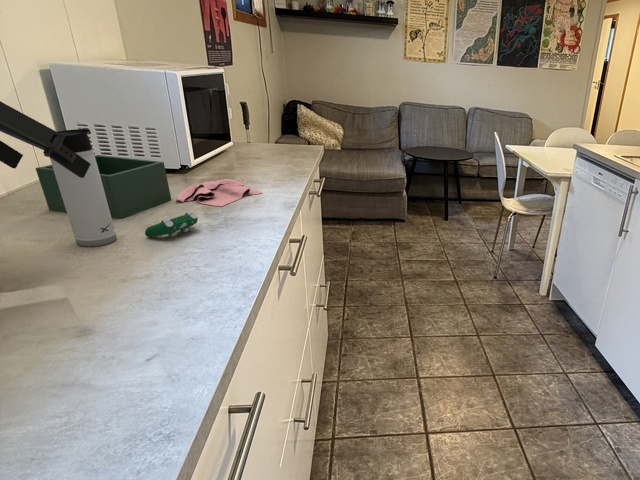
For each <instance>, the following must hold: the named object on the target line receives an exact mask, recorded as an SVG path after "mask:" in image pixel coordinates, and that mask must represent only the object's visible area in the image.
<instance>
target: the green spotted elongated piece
mask: <svg viewBox="0 0 640 480" xmlns="http://www.w3.org/2000/svg"><path fill="white" fill-rule="evenodd" d="M197 223H198V216H197V215H196V213H194V212H193V211H192V210H190V209H187V210H186V212H185V213H184V214H183V215H180V216H177V217H174V218H169V217H168V216H163V217H162V220H161V221H160V222H158V223H155V224H153V225H150V226H148V227H146V229H145V230H144V235H145V237H148V238H156V237H157V238H158V237H164V236H167V235H168V236H170V237H176V236H177V235H178V233H177V232H178V231H179V232H183V233H187V232H189V231H190V227H192V226H194V225H197Z"/></svg>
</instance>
